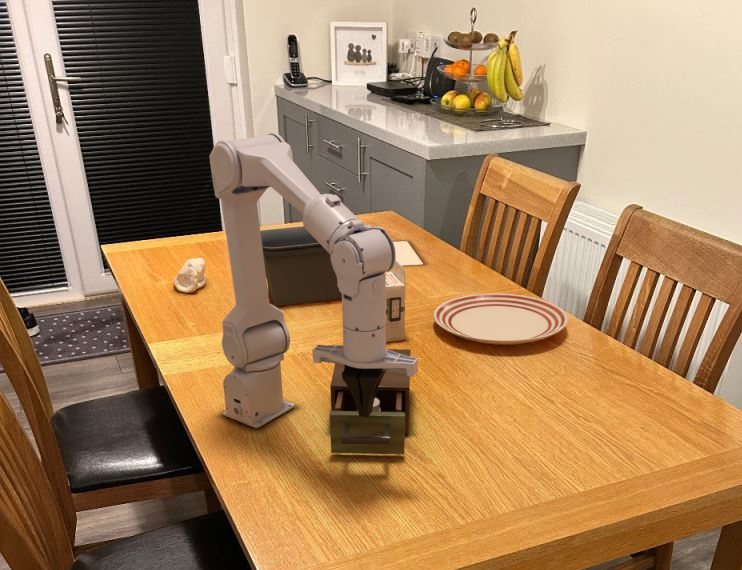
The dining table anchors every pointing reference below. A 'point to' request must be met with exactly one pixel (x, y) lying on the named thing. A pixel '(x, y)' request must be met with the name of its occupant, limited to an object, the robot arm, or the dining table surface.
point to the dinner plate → (500, 318)
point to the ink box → (395, 304)
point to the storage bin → (297, 267)
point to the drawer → (368, 425)
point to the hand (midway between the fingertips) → (365, 413)
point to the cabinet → (388, 383)
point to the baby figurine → (191, 275)
